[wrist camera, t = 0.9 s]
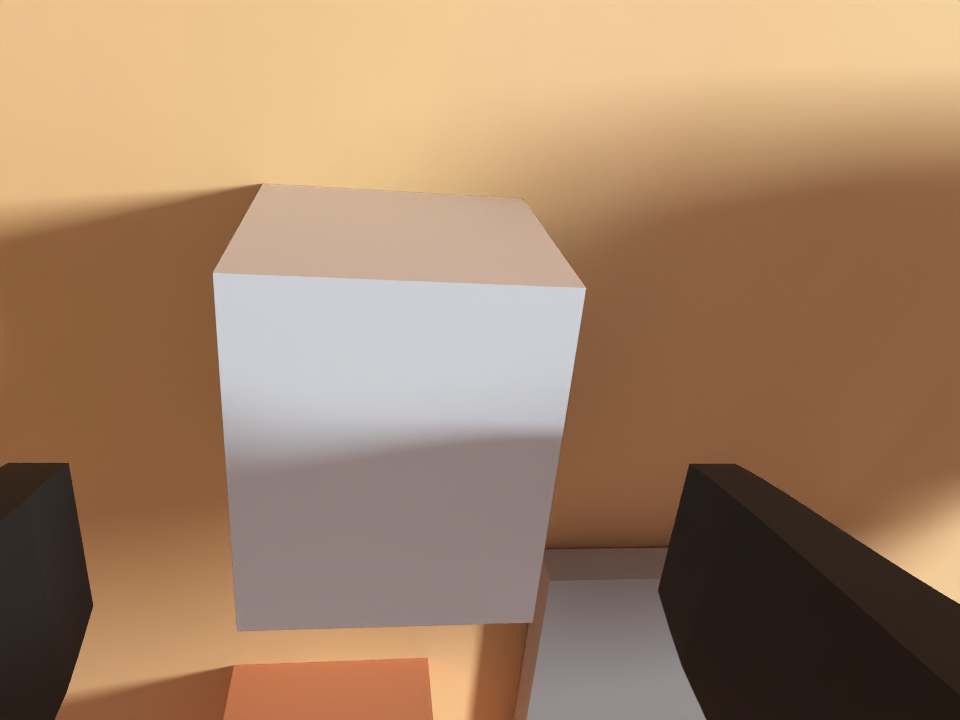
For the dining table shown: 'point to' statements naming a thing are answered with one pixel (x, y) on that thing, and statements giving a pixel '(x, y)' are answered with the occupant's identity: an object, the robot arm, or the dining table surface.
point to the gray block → (602, 641)
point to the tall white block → (391, 406)
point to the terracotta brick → (331, 691)
